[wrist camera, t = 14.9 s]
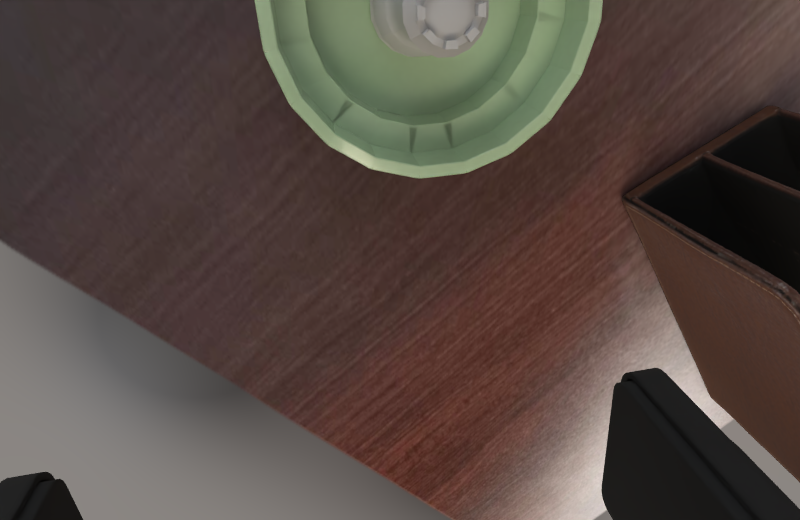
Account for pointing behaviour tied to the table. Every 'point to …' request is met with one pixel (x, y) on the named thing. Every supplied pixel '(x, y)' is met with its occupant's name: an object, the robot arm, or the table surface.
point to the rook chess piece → (429, 25)
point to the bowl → (426, 81)
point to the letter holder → (736, 269)
